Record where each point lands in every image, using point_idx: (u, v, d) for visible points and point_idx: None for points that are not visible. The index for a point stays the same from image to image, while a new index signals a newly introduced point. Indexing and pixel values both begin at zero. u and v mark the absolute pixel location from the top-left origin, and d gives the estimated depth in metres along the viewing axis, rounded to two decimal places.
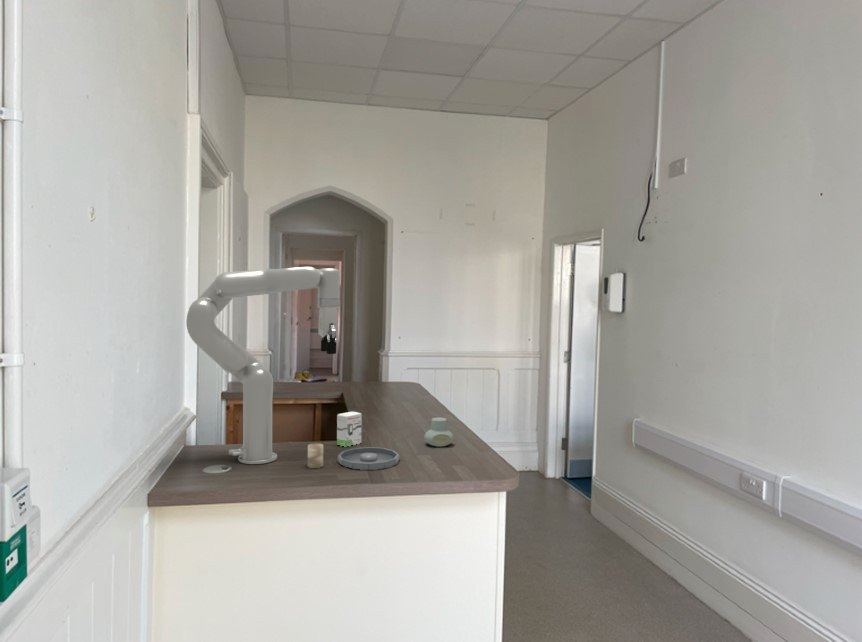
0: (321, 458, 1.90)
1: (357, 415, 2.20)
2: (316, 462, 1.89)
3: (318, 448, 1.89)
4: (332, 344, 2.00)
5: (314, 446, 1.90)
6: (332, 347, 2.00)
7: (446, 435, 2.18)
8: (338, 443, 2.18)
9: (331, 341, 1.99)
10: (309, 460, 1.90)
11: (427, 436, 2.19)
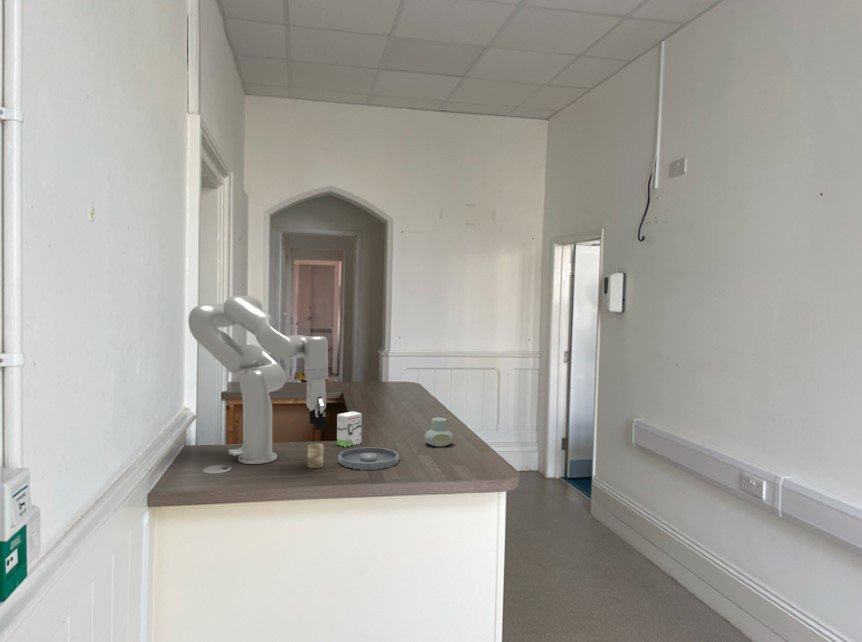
0: (321, 458, 1.90)
1: (357, 415, 2.20)
2: (316, 462, 1.89)
3: (318, 448, 1.89)
4: (321, 419, 1.85)
5: (314, 446, 1.90)
6: (321, 422, 1.85)
7: (446, 435, 2.18)
8: (338, 443, 2.18)
9: (319, 416, 1.85)
10: (309, 460, 1.90)
11: (427, 436, 2.19)
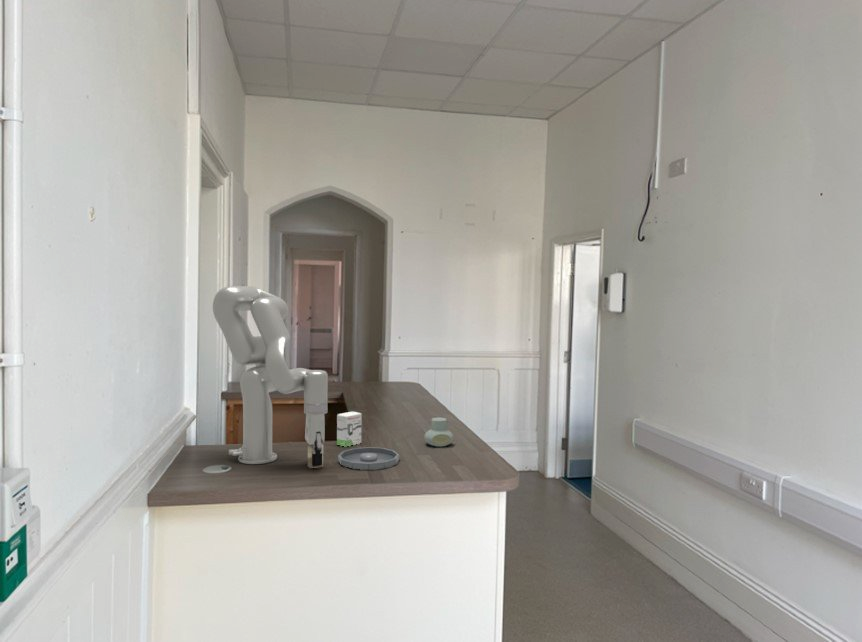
0: None
1: (357, 415, 2.20)
2: None
3: None
4: (318, 456, 1.88)
5: None
6: (318, 459, 1.88)
7: (446, 435, 2.18)
8: (338, 443, 2.18)
9: (316, 453, 1.87)
10: (309, 460, 1.90)
11: (427, 436, 2.19)
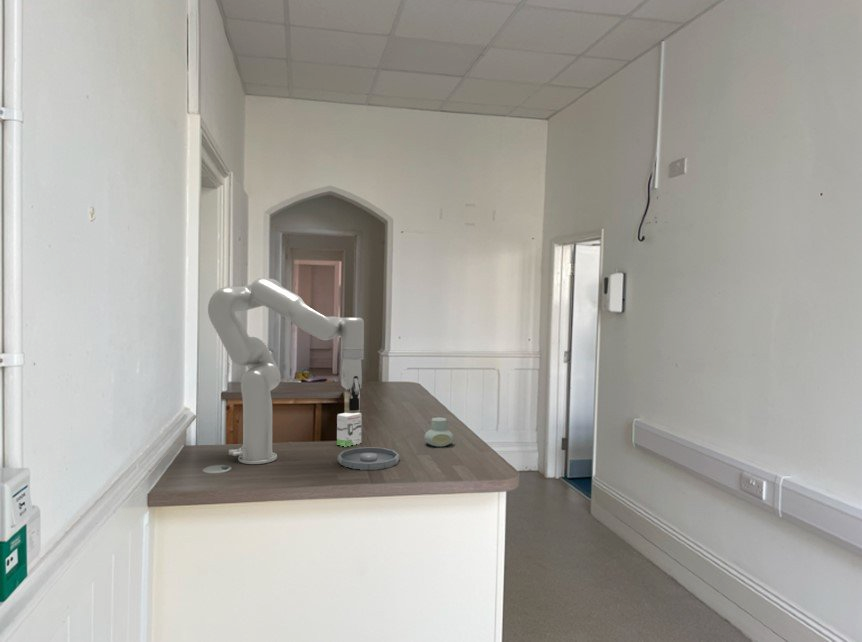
0: None
1: (357, 415, 2.20)
2: None
3: None
4: (355, 400, 1.92)
5: None
6: (355, 403, 1.92)
7: (446, 435, 2.18)
8: (338, 443, 2.18)
9: (354, 397, 1.91)
10: (346, 405, 1.93)
11: (427, 436, 2.19)
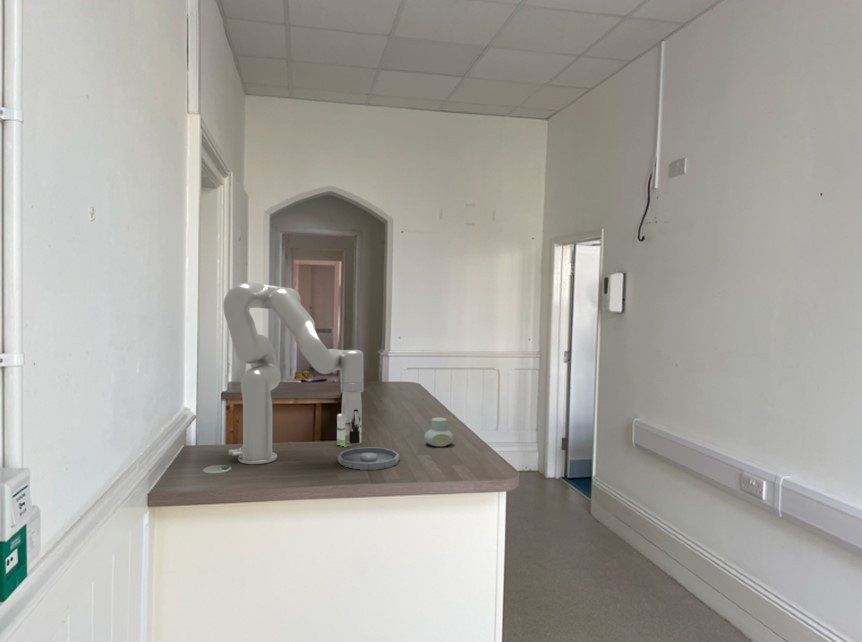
0: None
1: None
2: None
3: None
4: (355, 433, 1.92)
5: None
6: (355, 436, 1.92)
7: (446, 435, 2.18)
8: (338, 443, 2.18)
9: (354, 430, 1.92)
10: (346, 437, 1.94)
11: (427, 436, 2.19)
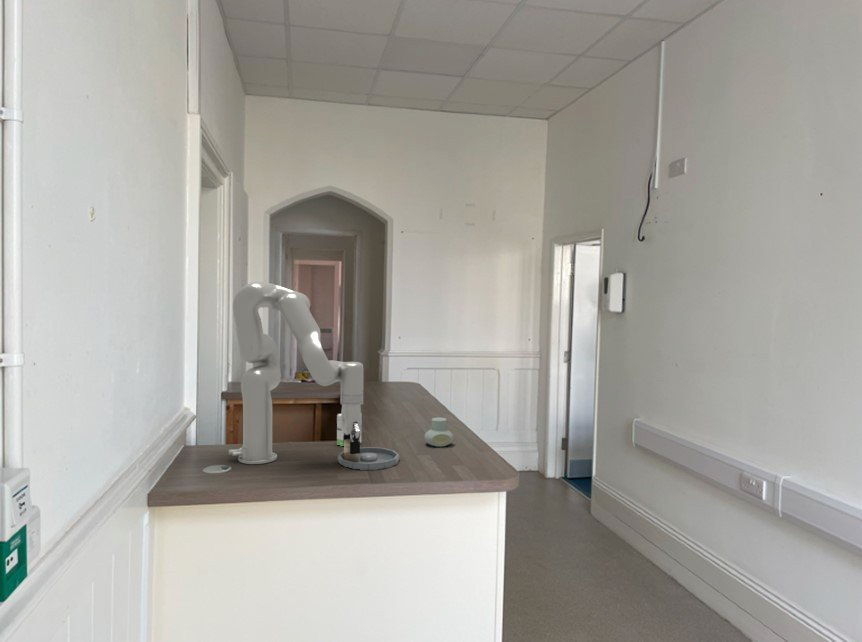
0: None
1: None
2: (352, 456, 1.94)
3: None
4: (356, 444, 1.90)
5: (350, 441, 1.94)
6: (356, 447, 1.90)
7: (446, 435, 2.18)
8: (338, 443, 2.18)
9: (355, 441, 1.90)
10: (345, 455, 1.94)
11: (427, 436, 2.19)
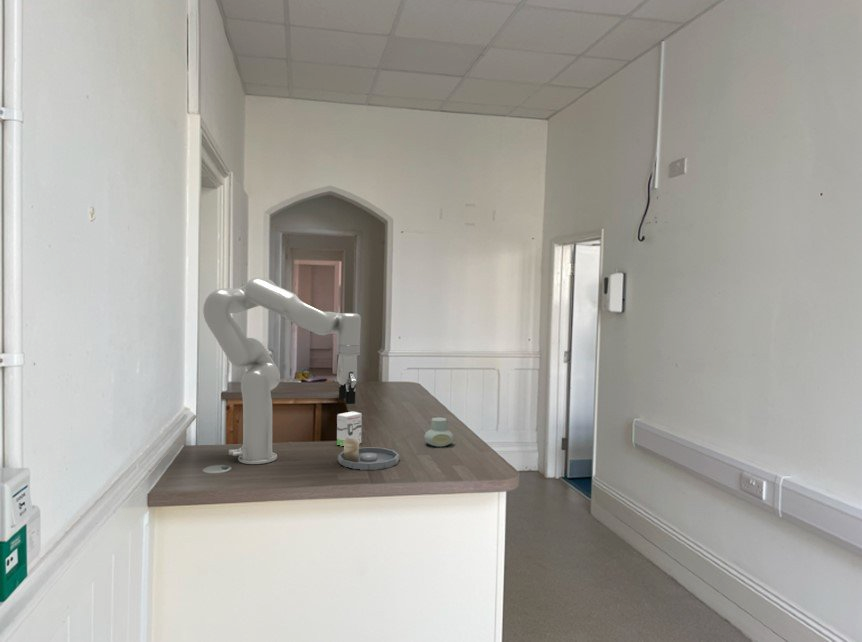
0: (357, 453, 1.95)
1: (357, 415, 2.20)
2: (352, 456, 1.94)
3: (354, 443, 1.94)
4: (351, 394, 1.90)
5: (350, 441, 1.94)
6: (351, 397, 1.90)
7: (446, 435, 2.18)
8: (338, 443, 2.18)
9: (350, 391, 1.90)
10: (345, 455, 1.94)
11: (427, 436, 2.19)
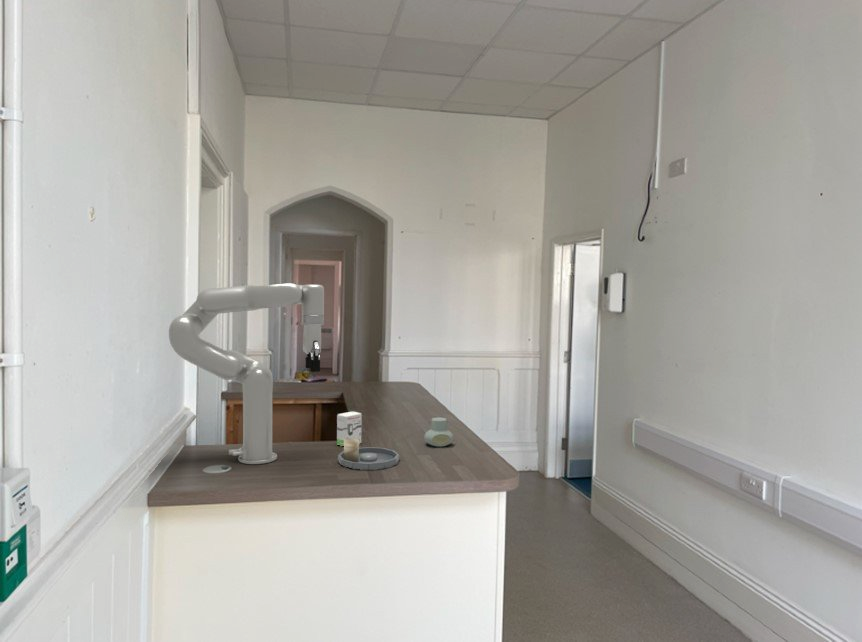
0: (357, 453, 1.95)
1: (357, 415, 2.20)
2: (352, 456, 1.94)
3: (354, 443, 1.94)
4: (316, 362, 1.96)
5: (350, 441, 1.94)
6: (316, 365, 1.96)
7: (446, 435, 2.18)
8: (338, 443, 2.18)
9: (315, 359, 1.96)
10: (345, 455, 1.94)
11: (427, 436, 2.19)
